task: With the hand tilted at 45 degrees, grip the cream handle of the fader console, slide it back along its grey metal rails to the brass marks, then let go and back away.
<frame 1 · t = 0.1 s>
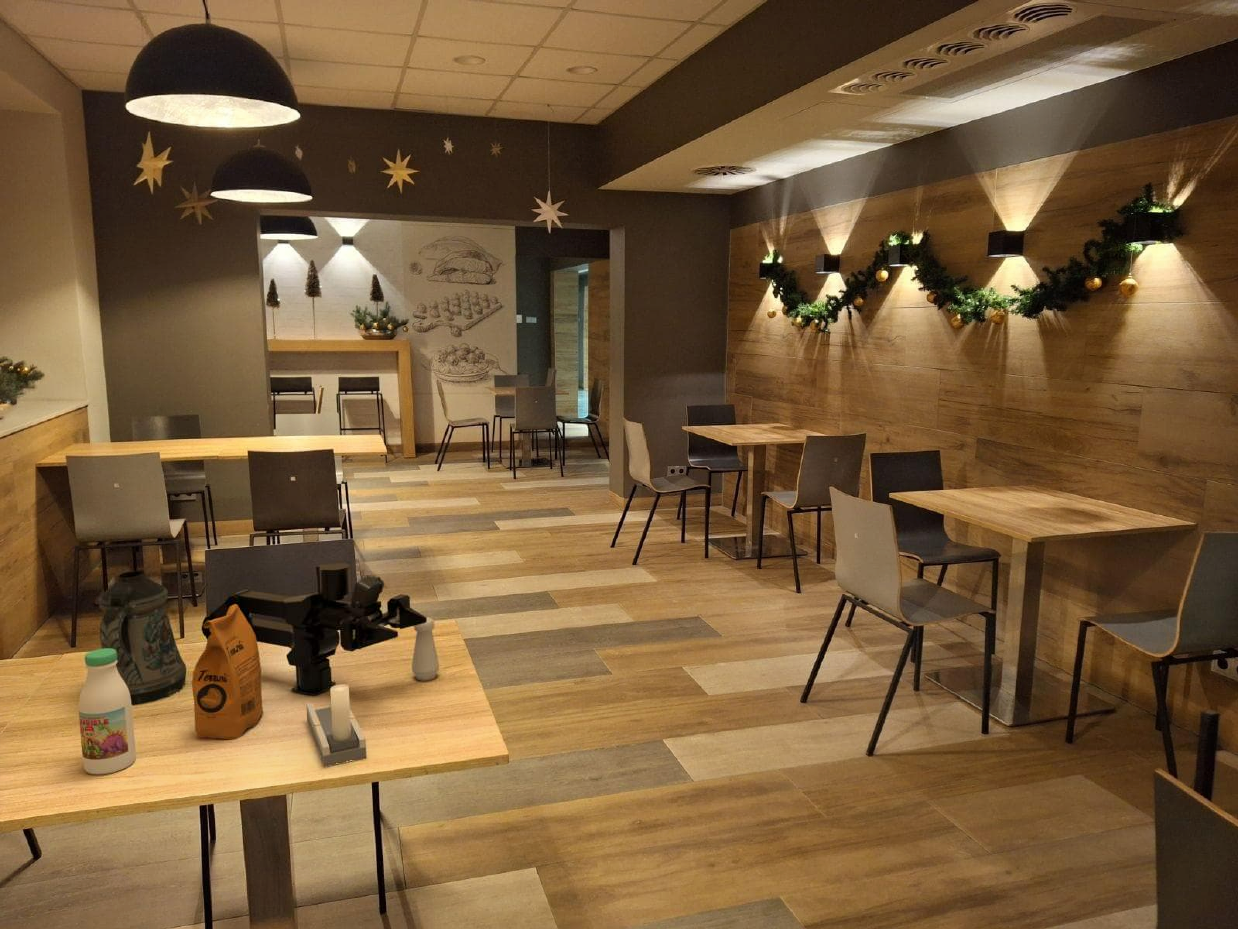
hand: (412, 627, 166), 17 cm above the table, tool horizontal, fingers open, 9 cm apart
milk bottle: (110, 765, 146), on the table
fader slider: (340, 716, 148), point 7 cm above the table, slide at 0.0 cm
fader console: (337, 743, 154), on the table
beer stein: (143, 693, 176), on the table
salt shaker: (425, 678, 184), on the table
coffee package: (230, 727, 161), on the table
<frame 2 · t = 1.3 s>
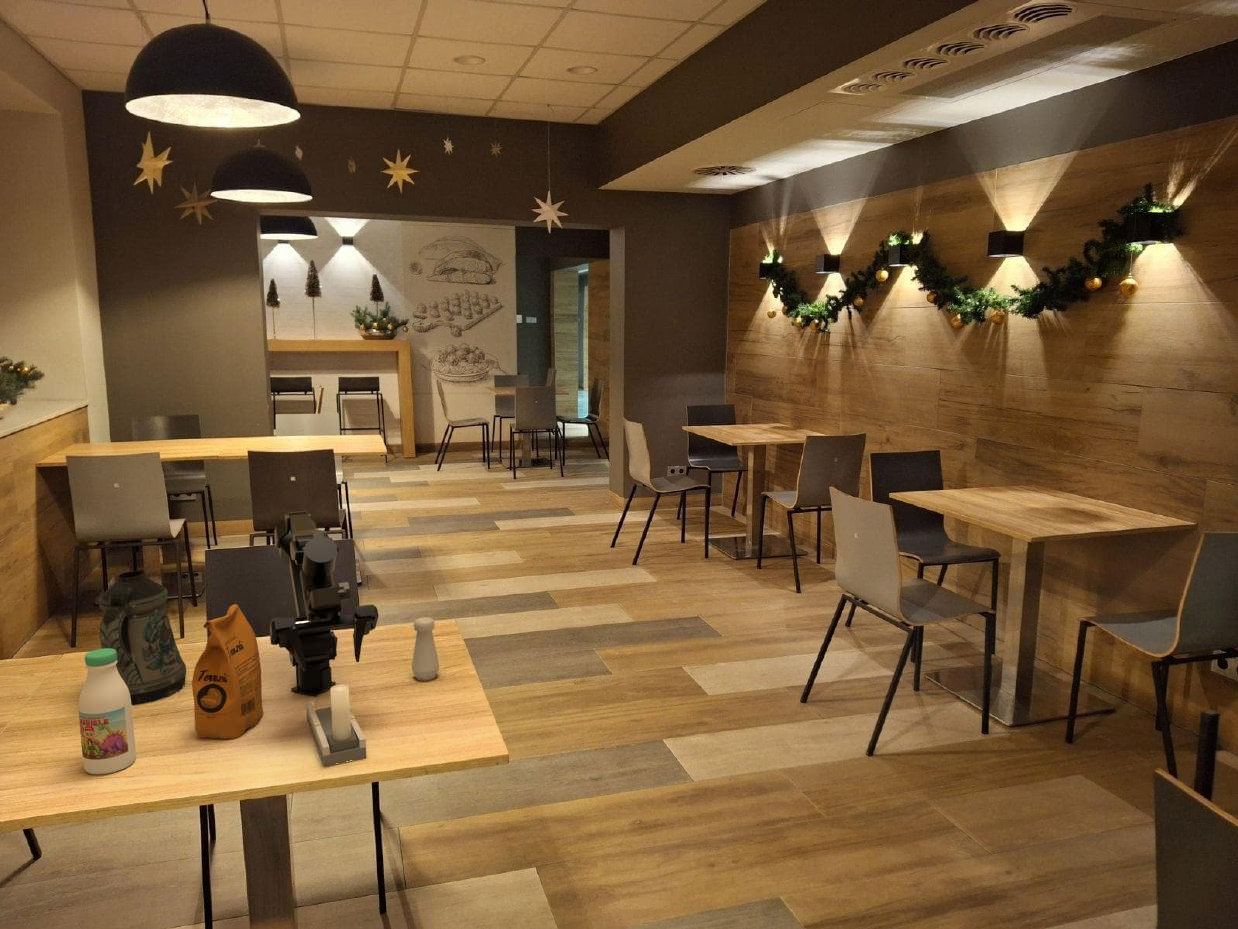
hand: (331, 665, 154), 14 cm above the table, tool tilted 45°, fingers open, 9 cm apart
nothing on the table moved.
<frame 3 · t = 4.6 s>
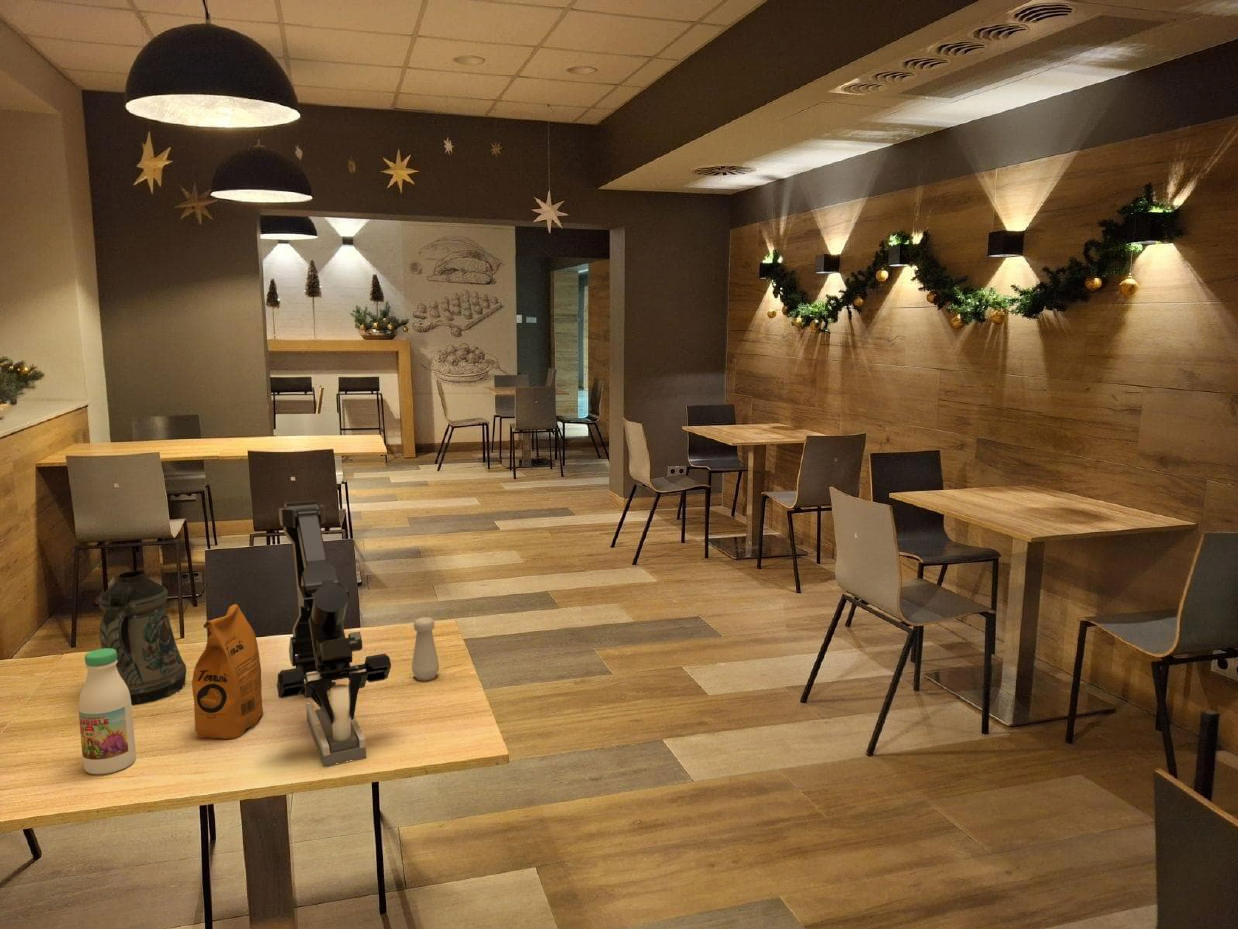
hand: (342, 720, 147), 7 cm above the table, tool tilted 45°, fingers closed on fader slider, 3 cm apart
fader slider: (340, 716, 148), point 7 cm above the table, slide at 0.0 cm, touching gripper
everything else where it was.
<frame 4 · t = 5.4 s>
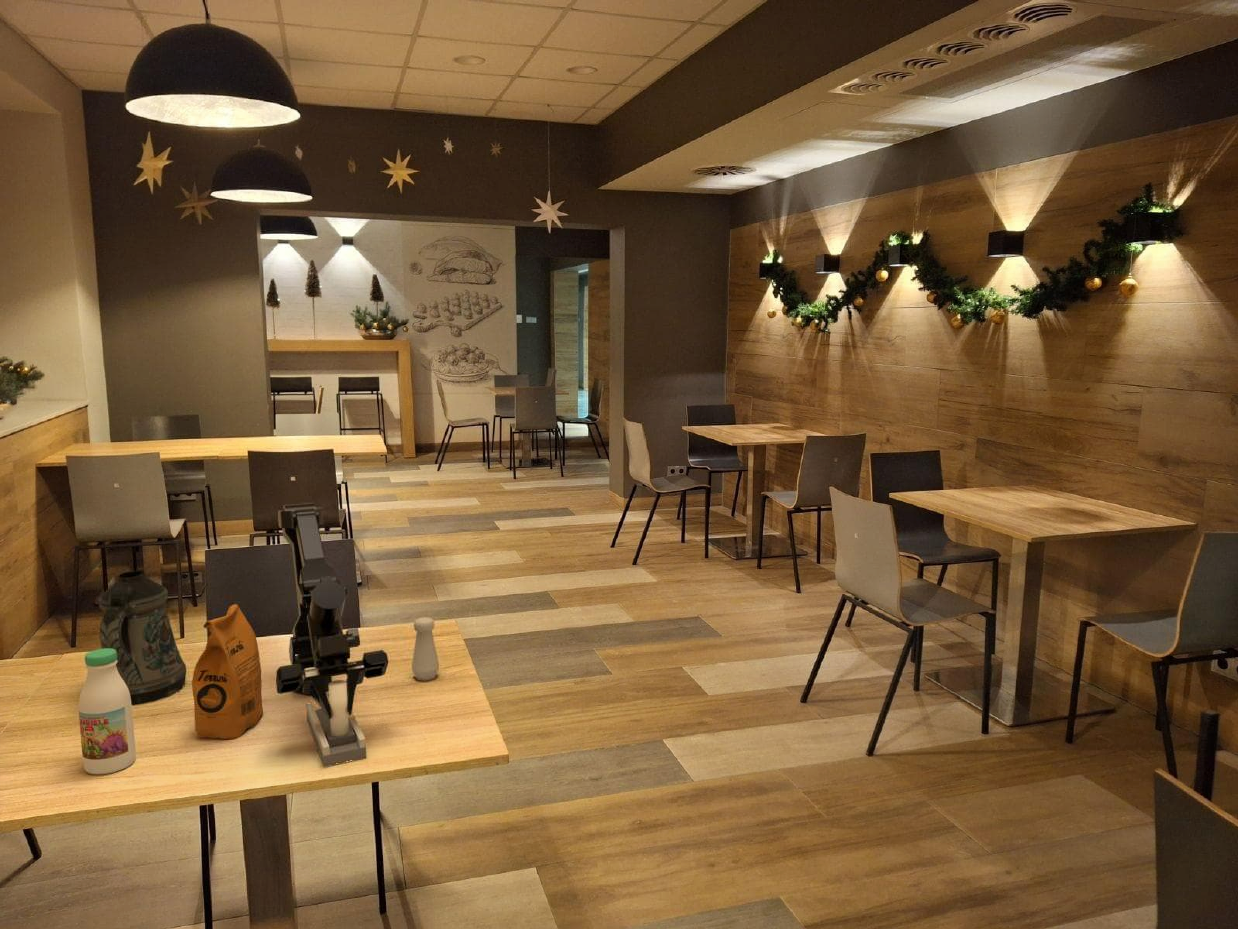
hand: (340, 716, 148), 7 cm above the table, tool tilted 45°, fingers closed on fader slider, 3 cm apart
fader slider: (338, 712, 150), point 7 cm above the table, slide at 2.1 cm, touching gripper
everything else where it was.
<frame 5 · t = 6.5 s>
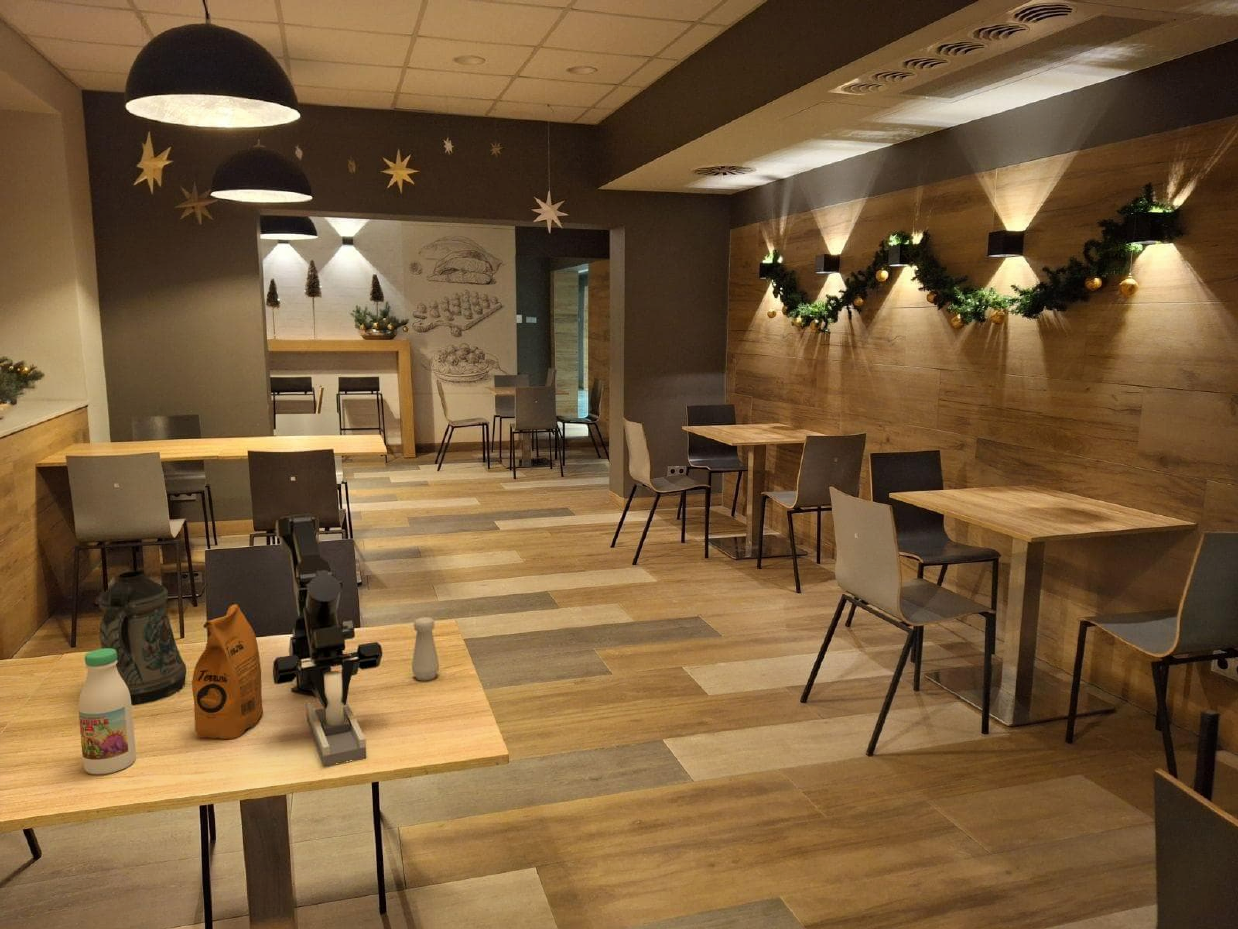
hand: (335, 706, 153), 7 cm above the table, tool tilted 45°, fingers closed on fader slider, 3 cm apart
fader slider: (334, 701, 154), point 7 cm above the table, slide at 6.9 cm, touching gripper
everything else where it was.
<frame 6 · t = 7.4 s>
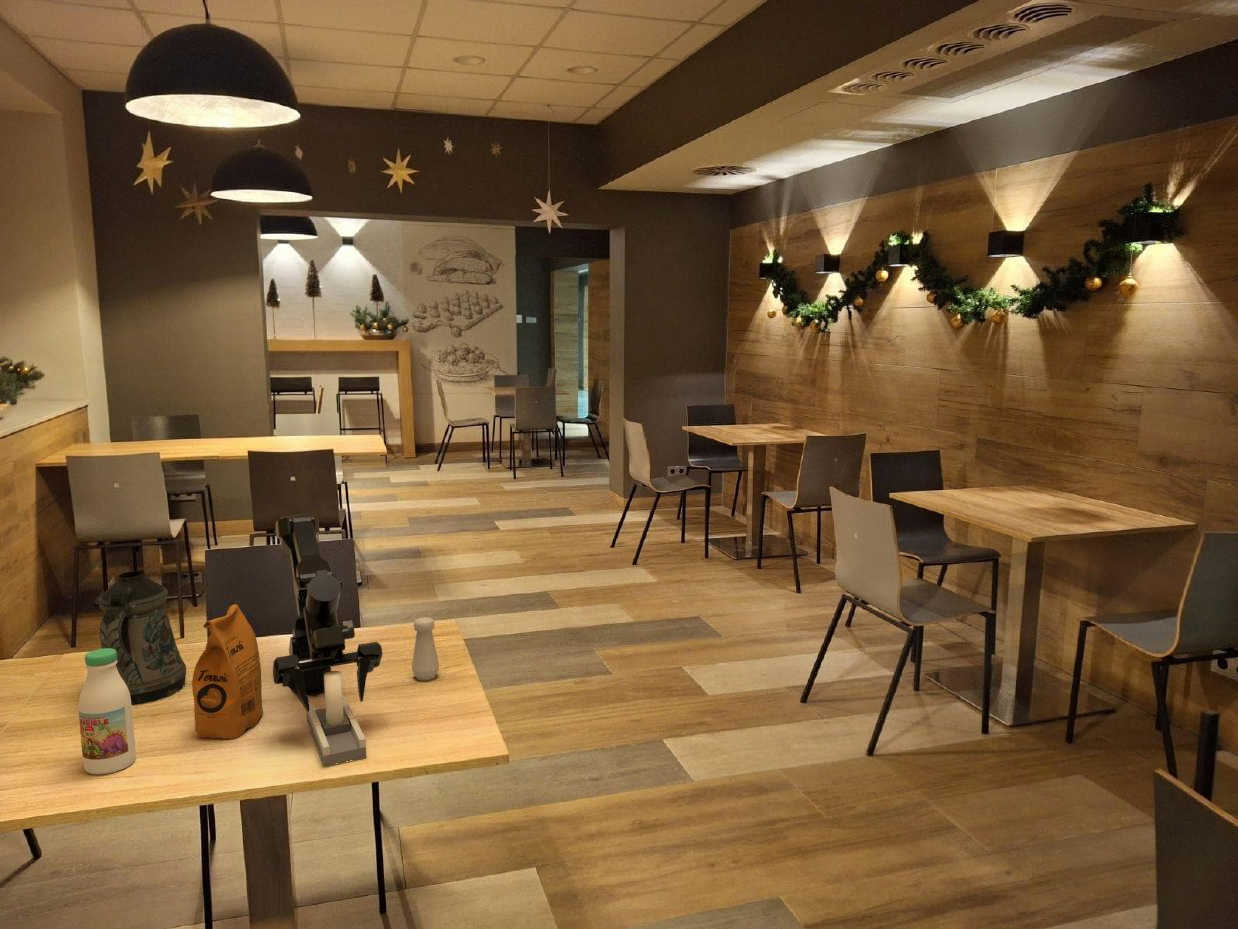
hand: (335, 705, 153), 7 cm above the table, tool tilted 45°, fingers open, 9 cm apart
fader slider: (334, 701, 154), point 7 cm above the table, slide at 7.0 cm
everything else where it was.
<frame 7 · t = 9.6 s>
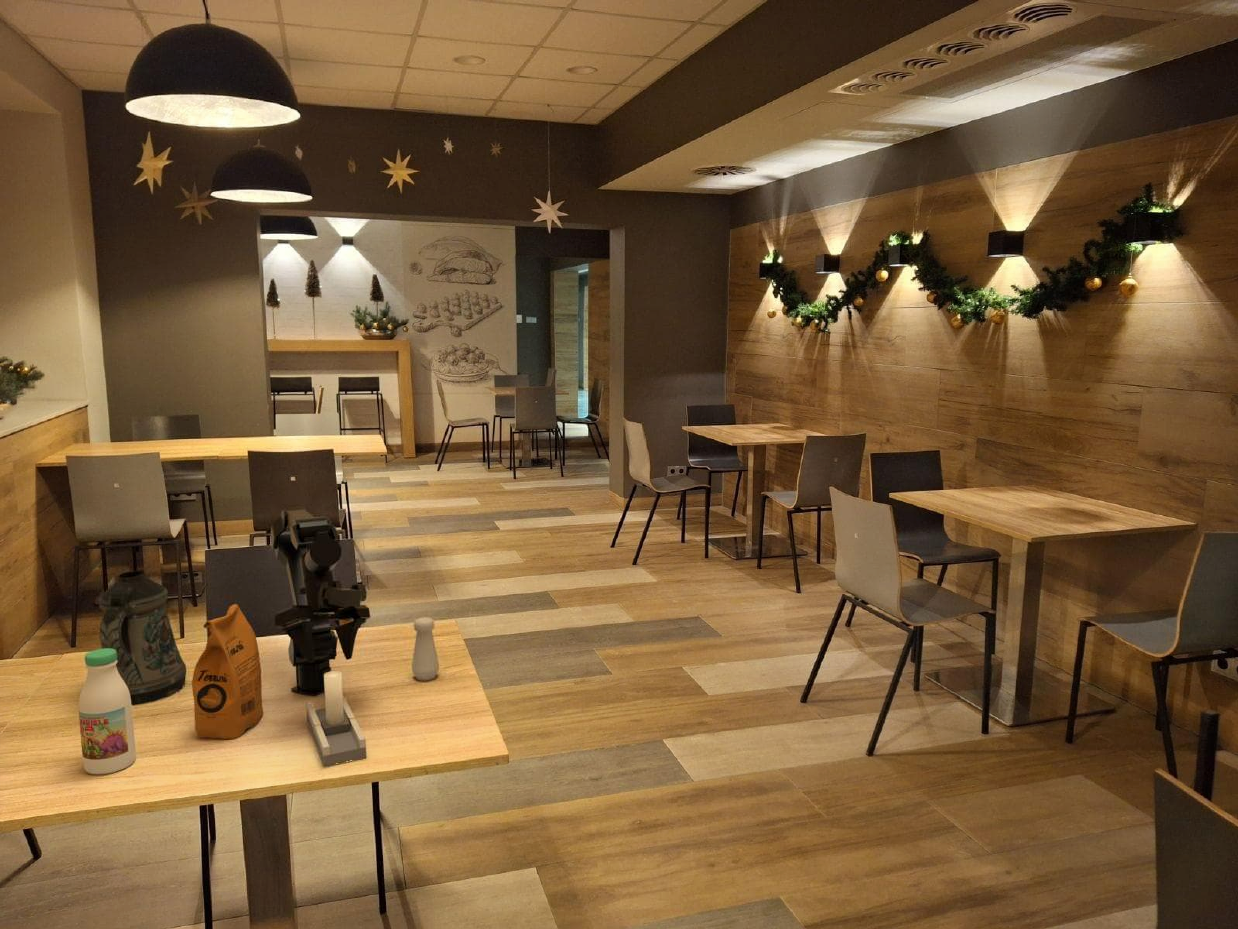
hand: (330, 660, 160), 12 cm above the table, tool tilted 30°, fingers open, 9 cm apart
nothing on the table moved.
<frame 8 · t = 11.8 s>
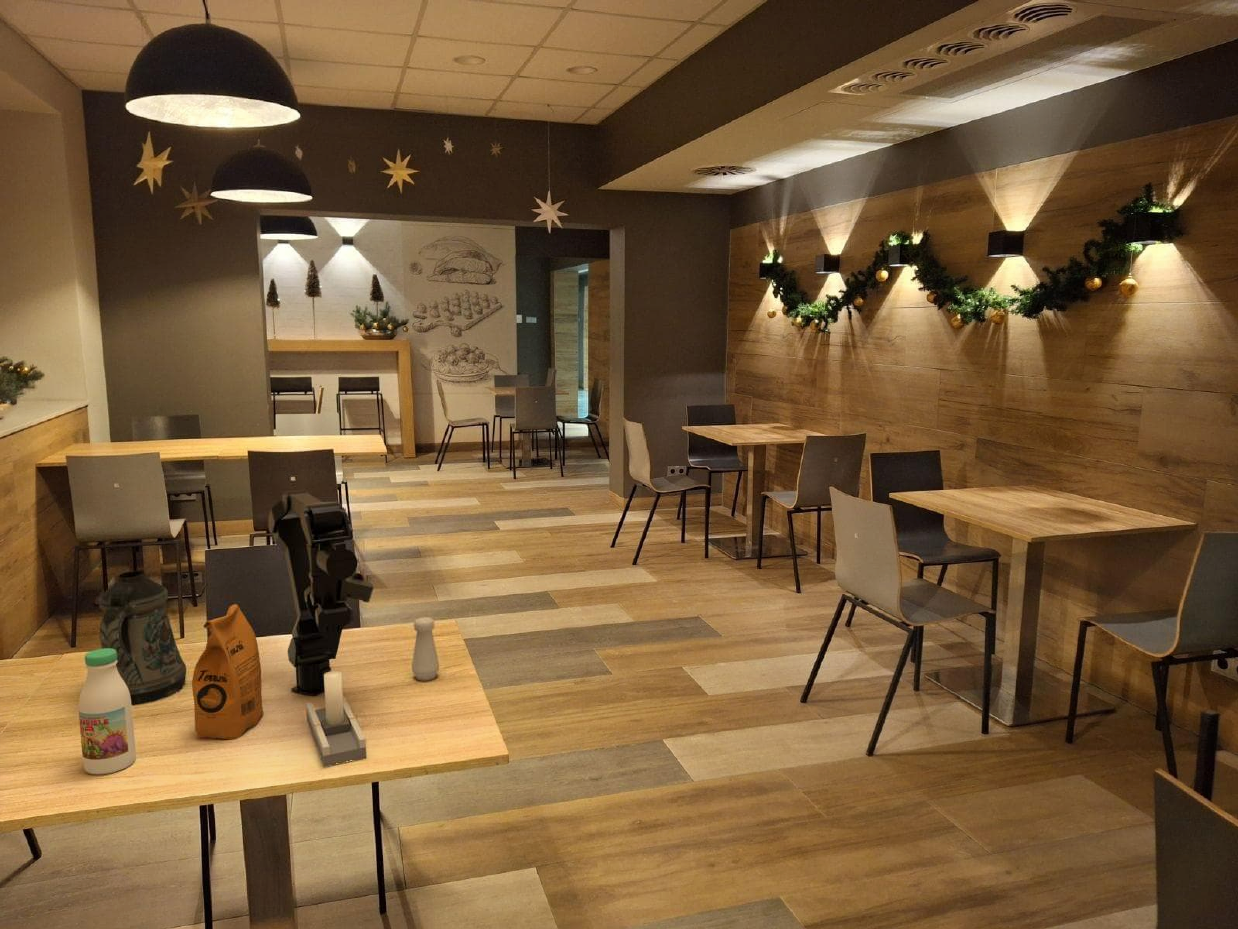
hand: (329, 646, 166), 13 cm above the table, tool pointing down, fingers open, 9 cm apart
nothing on the table moved.
at the end: fader slider slide at 7.0 cm; the gripper is holding nothing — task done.
